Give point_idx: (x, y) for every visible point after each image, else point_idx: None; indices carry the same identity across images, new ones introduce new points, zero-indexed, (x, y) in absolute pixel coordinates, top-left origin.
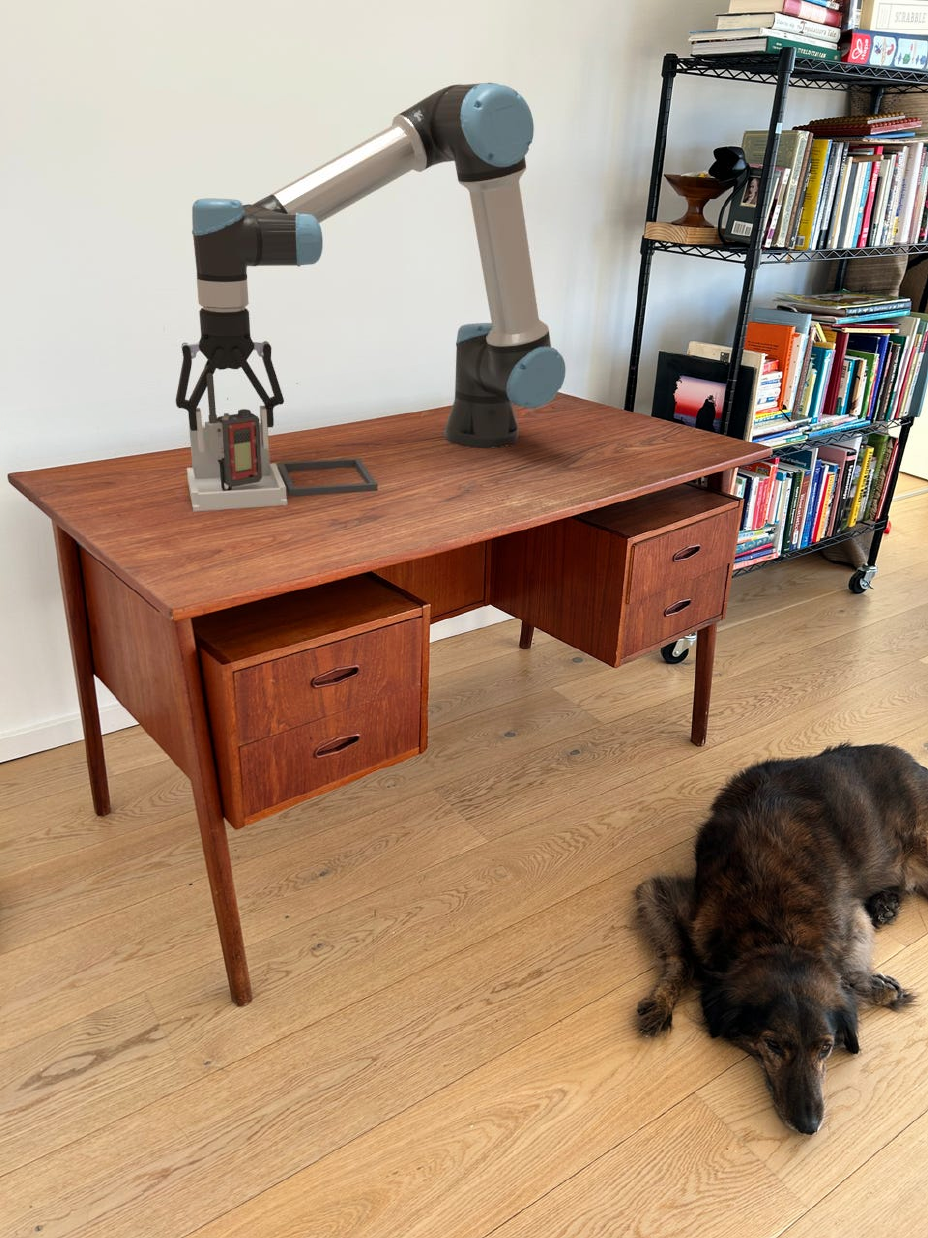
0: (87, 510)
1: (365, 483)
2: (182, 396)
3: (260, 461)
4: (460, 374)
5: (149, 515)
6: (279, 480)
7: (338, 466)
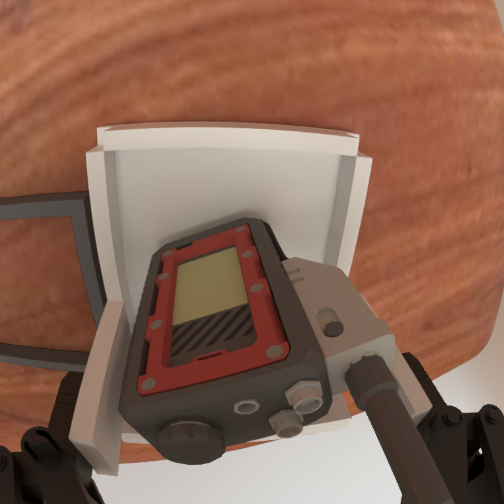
0: (492, 209)
1: None
2: (499, 446)
3: (146, 280)
4: None
5: (432, 149)
6: (101, 217)
7: (16, 349)
